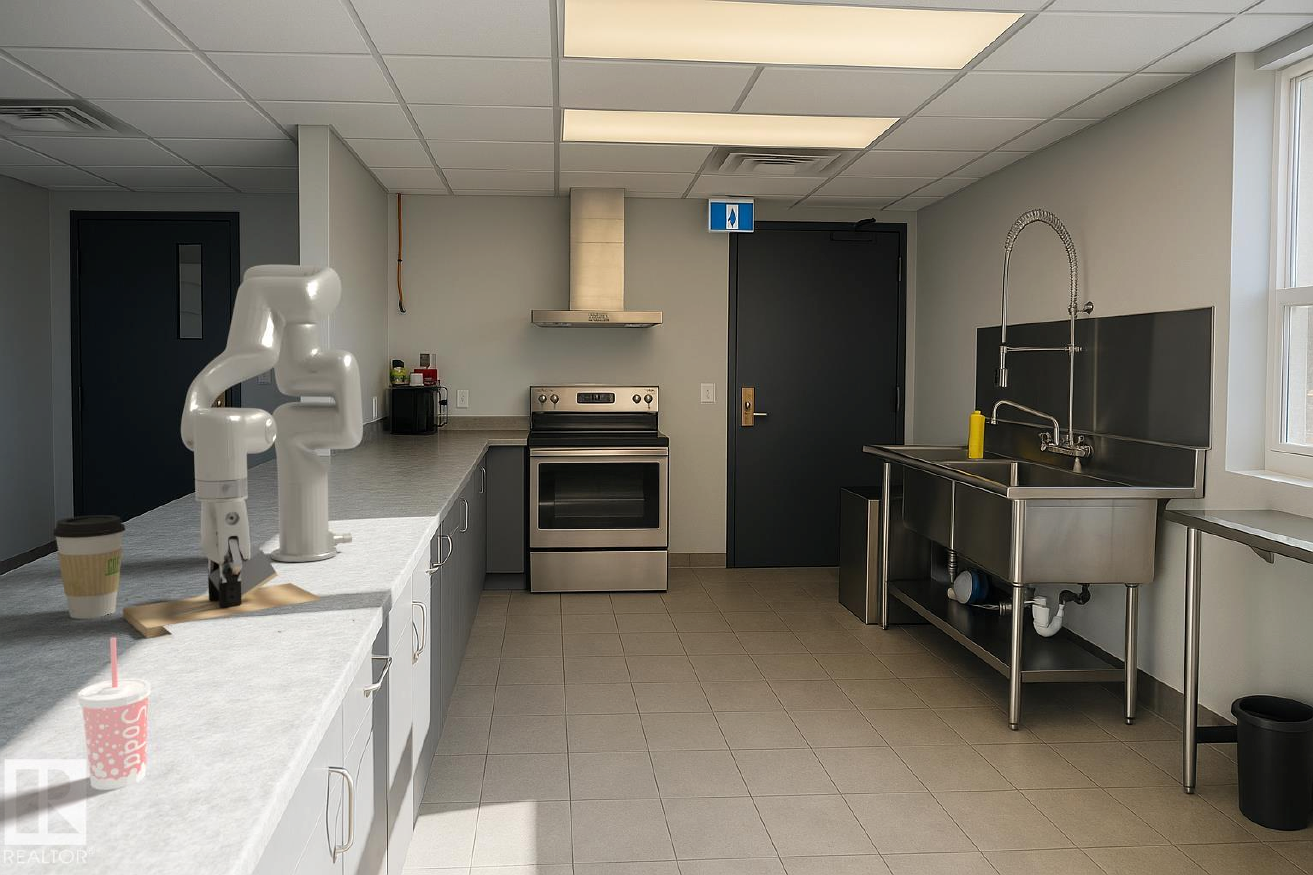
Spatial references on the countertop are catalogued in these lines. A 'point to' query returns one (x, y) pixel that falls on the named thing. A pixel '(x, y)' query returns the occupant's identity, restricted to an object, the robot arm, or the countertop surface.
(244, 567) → the block
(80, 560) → the coffee cup
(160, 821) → the countertop surface
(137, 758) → the beverage cup
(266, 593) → the board
